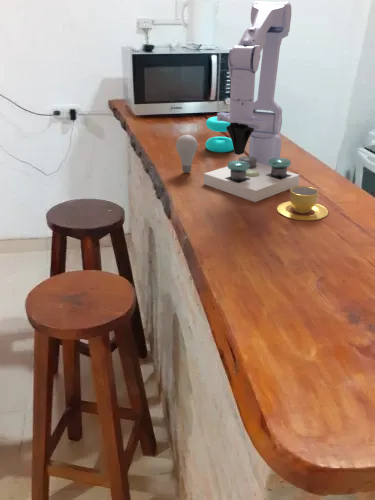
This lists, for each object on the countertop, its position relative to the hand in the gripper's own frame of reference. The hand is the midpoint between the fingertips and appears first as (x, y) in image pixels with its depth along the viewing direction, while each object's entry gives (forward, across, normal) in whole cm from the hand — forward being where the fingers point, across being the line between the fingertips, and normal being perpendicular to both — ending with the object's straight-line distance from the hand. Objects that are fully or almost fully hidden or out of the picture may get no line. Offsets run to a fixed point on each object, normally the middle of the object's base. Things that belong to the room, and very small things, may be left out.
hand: (239, 153), depth 129 cm
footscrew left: (+8, +6, +10) cm, 14 cm away
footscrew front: (+8, 0, 0) cm, 8 cm away
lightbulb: (+10, -19, 0) cm, 21 cm away
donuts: (+10, -30, +25) cm, 40 cm away
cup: (+10, +20, +1) cm, 23 cm away
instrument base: (+10, 0, +6) cm, 11 cm away
